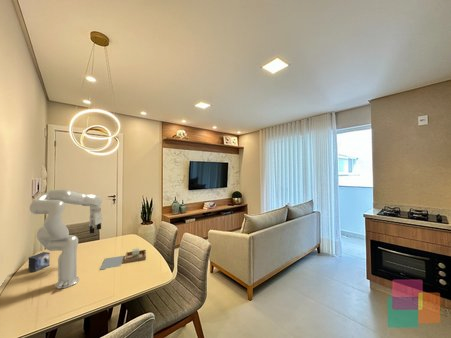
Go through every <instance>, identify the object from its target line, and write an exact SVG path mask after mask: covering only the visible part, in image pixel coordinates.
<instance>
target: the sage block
mask: <svg viewBox="0 0 451 338" xmlns="http://www.w3.org/2000/svg"><path fill="white" fill-rule="evenodd" d="M139 251H140V248H139V247H135V248H132V251H131V252H132V258H138V257H139Z"/></svg>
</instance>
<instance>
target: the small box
mask: <svg viewBox="0 0 451 338" xmlns="http://www.w3.org/2000/svg"><path fill="white" fill-rule="evenodd" d="M50 254H51V253H50V252H46V251H42V252H40V253H37V254H33V255H32V256H29V257H28V270H27V272H31V273H36V272H38V271H40V270H42V269H44V268H47V267H49V266H50V257H51V256H50Z"/></svg>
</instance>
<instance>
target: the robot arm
mask: <svg viewBox="0 0 451 338" xmlns="http://www.w3.org/2000/svg"><path fill="white" fill-rule="evenodd" d="M102 202H103V199H102V196H101V195H99V194H92V193H91V194H90V193H85V192H84V193H83V192H78V191H73V190H70V189H50V190H49V191H46V192H45V193H43V194H42V195H40V196H39V197H37V198H36V199H34V200H33V201H32V202H31V204H30V206H29V211H30V212H31V214H35V215H47V217H46V218H45V220H44V221H43V226H41V227H39V229H37V231H36V238H37V240H38V242H39V243H40V244H41V245H42V246H43V248H44V249H46V250H47V251H49V252H50V251H51V252H55V251H59V252H61V253H60V254H59V255H58V259H57V282H56V283H55V284H54V288H55V289H58V290H59V289H67V288H69V287H73V286H74V285H76V284H78V282H79V281H80V277H79V276H77V249H78V246H79V238H78V236H76V235H73V234H70V231H69V228H68V227H67V225H66V223H64V221H63V219H62V216H63V212H64V210H65V206H66V205H65V204H69V205H75V206H76V205H78V206H79V205H80V206H83V207H89V222H88V224H87V225H88V228H89V234H94V233H95V226H96V230H102V222H103V214H102V205H101V204H102Z"/></svg>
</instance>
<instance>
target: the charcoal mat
mask: <svg viewBox="0 0 451 338" xmlns="http://www.w3.org/2000/svg"><path fill="white" fill-rule="evenodd" d="M124 258H125V255H120V256H119V255H118V256H112V257H107V258H104V260H103V262H102V264H101V266H100V268H99V271H104V270H106V269H110V268H117V267H118V268H119V267H121V266H122V263H123V261H124Z"/></svg>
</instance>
